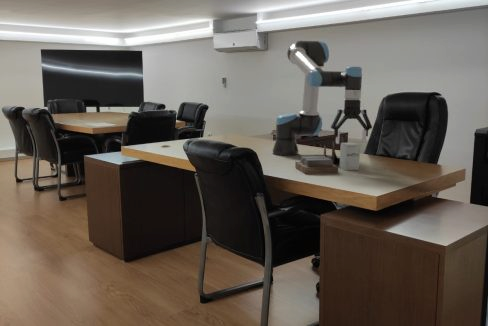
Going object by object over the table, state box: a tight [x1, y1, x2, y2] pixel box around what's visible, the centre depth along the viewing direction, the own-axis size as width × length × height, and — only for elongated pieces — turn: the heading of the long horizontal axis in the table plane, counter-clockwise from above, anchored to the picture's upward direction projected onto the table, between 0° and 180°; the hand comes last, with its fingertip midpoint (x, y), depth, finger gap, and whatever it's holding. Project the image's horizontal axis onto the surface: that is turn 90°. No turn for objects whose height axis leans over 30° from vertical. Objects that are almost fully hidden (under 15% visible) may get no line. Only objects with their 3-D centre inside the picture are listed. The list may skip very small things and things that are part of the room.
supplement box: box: [339, 142, 361, 171], centre depth 233 cm, size 7×7×13 cm
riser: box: [294, 155, 339, 175], centre depth 228 cm, size 16×16×6 cm
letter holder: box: [322, 135, 345, 167], centre depth 250 cm, size 10×20×14 cm, turn 172°
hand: (350, 143), depth 232 cm, fingers open, 13 cm apart
